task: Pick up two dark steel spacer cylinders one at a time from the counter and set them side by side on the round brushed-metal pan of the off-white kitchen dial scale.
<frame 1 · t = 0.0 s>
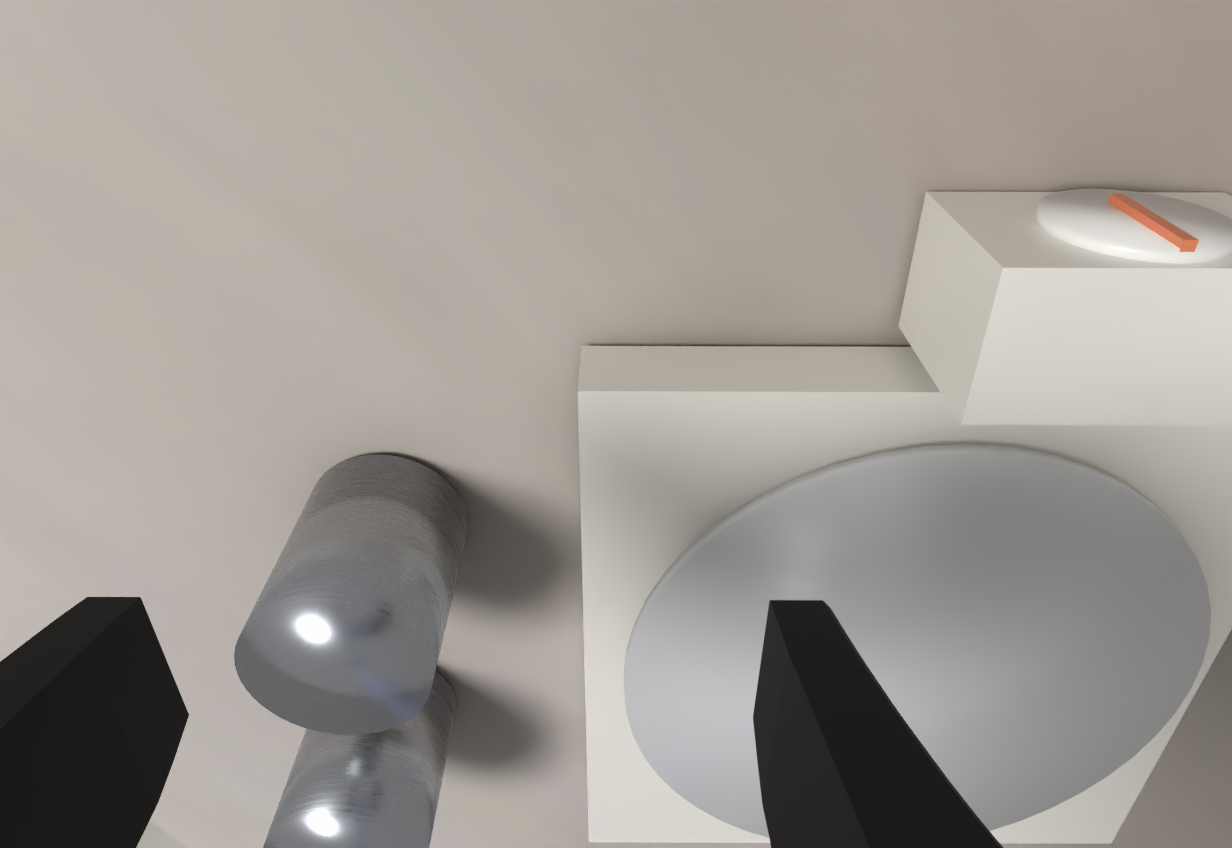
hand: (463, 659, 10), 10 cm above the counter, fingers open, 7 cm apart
spacer b: (389, 518, 22), on the counter
spacer a: (389, 700, 25), on the counter
scale: (877, 606, 23), on the counter
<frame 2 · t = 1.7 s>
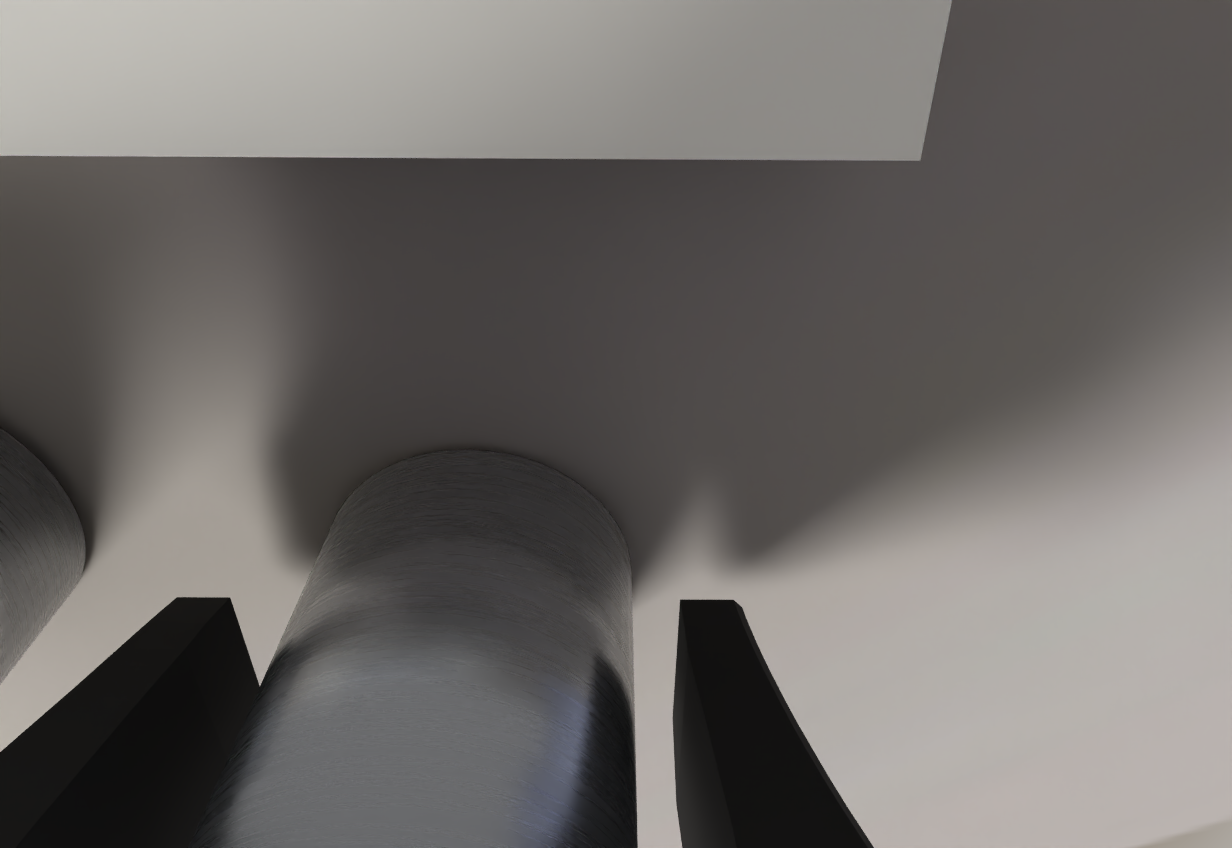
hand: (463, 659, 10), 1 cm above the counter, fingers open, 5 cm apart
spacer a: (480, 574, 11), on the counter
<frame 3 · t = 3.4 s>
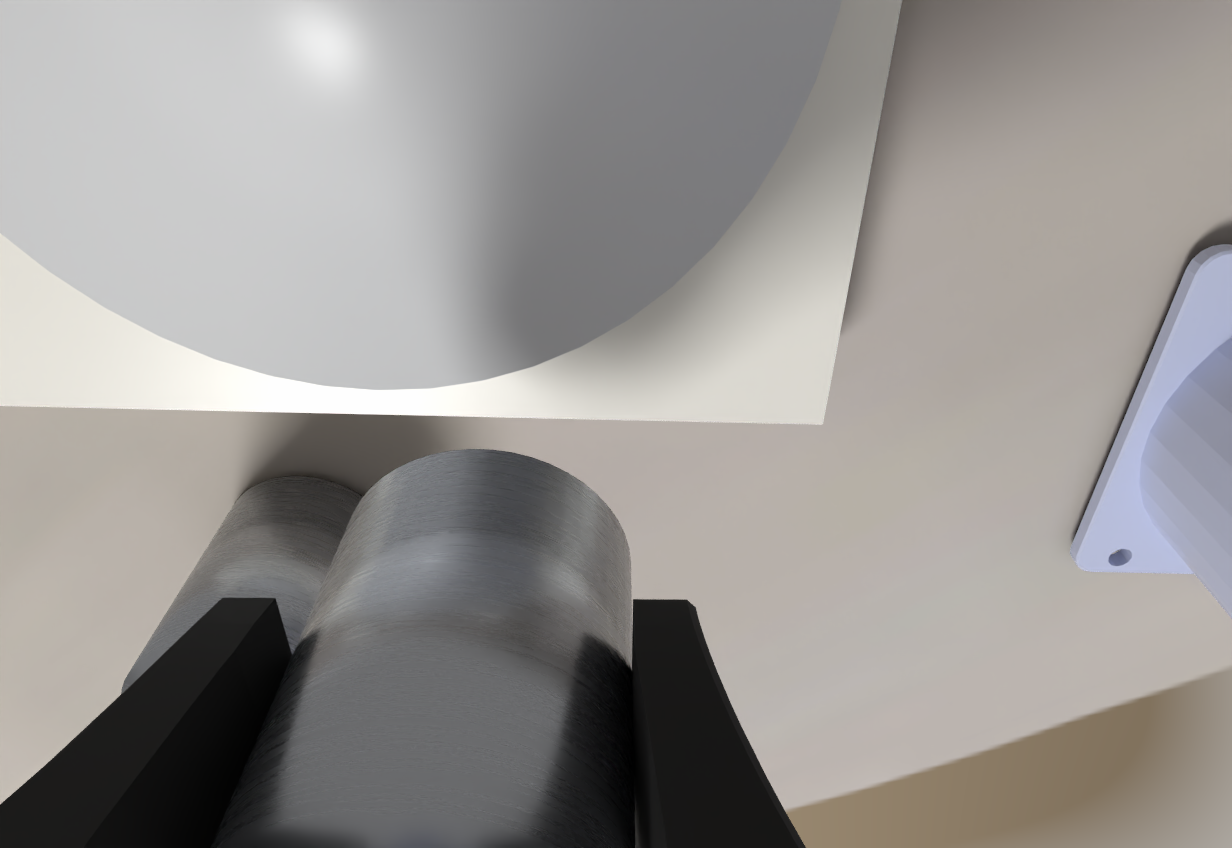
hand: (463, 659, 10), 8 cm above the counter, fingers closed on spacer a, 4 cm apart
spacer b: (313, 543, 20), on the counter
spacer a: (489, 566, 12), point 6 cm above the counter, touching gripper
when the fingers open (5 cm above the counter, at t = 4.9 s): spacer a stays where it is, resting on scale.
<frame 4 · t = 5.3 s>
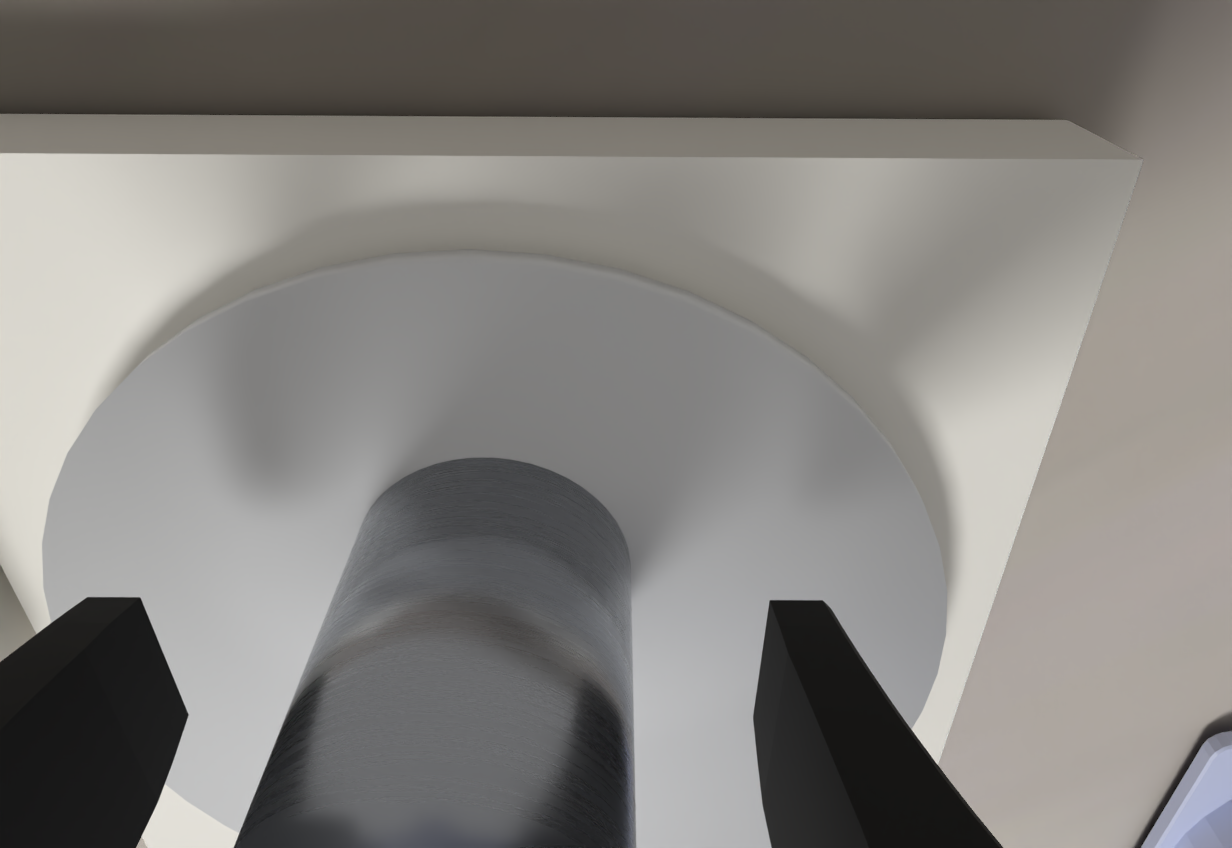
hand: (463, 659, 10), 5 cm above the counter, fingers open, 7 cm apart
spacer a: (494, 568, 12), point 3 cm above the counter, touching scale
scale: (520, 555, 16), on the counter
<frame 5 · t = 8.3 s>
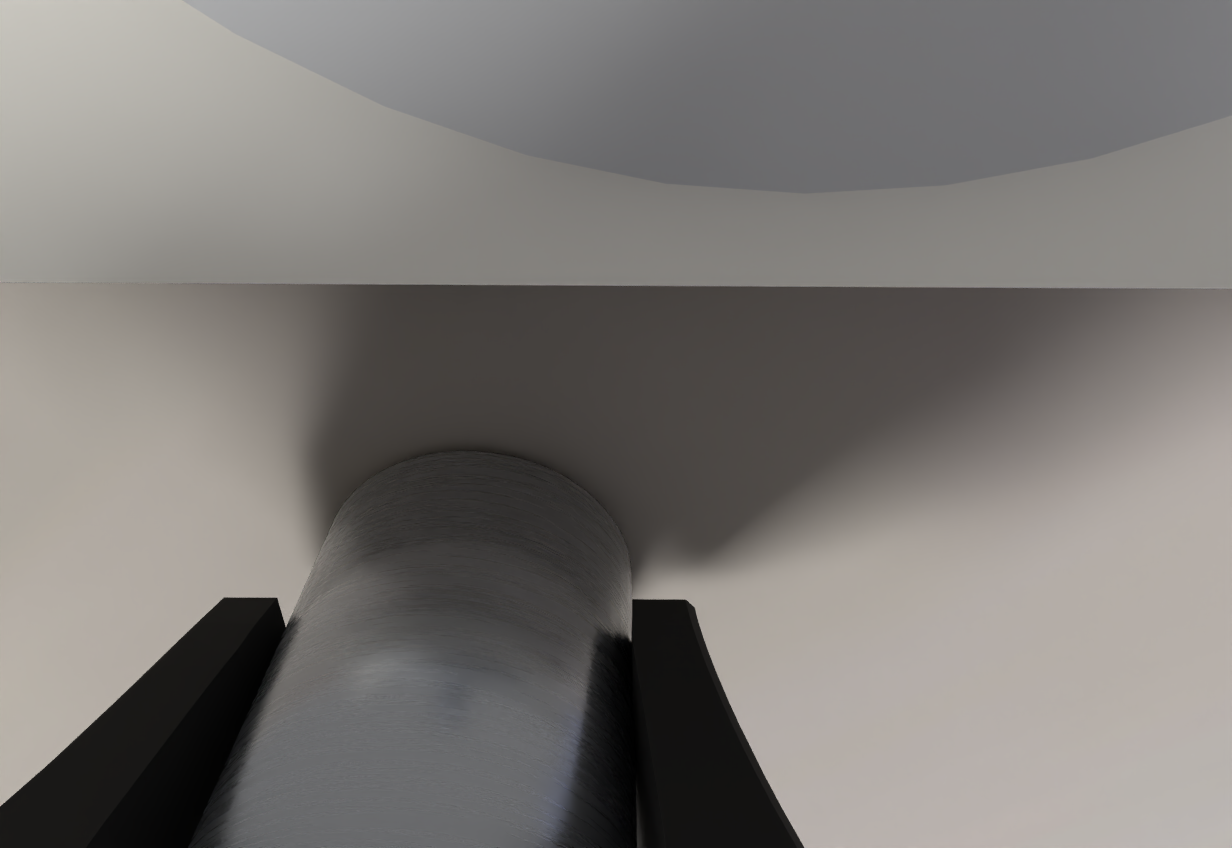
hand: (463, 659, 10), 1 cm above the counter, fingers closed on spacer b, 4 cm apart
spacer b: (480, 575, 11), on the counter, touching gripper
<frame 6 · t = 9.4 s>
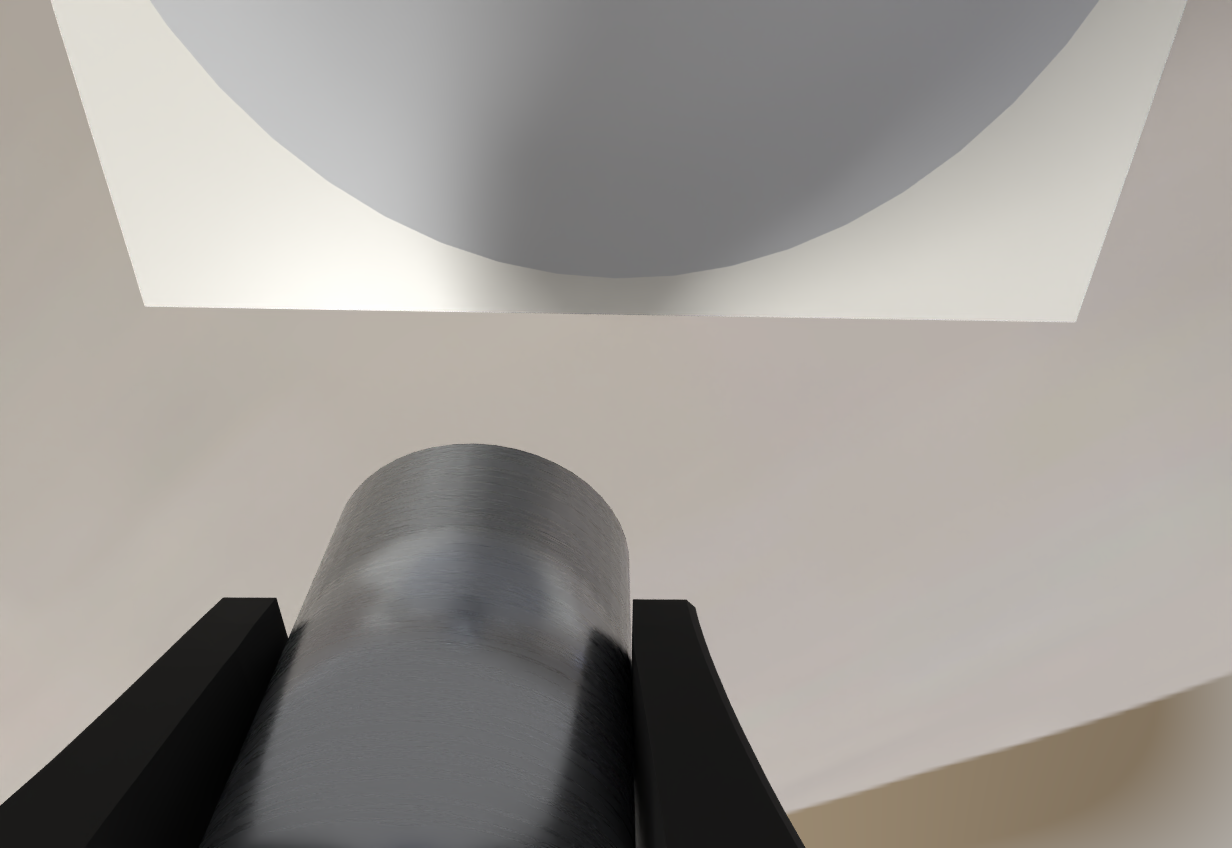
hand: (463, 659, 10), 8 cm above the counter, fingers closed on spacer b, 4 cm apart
spacer b: (483, 564, 12), point 6 cm above the counter, touching gripper
when the fingers open (5 cm above the counter, at t = 10.7 s): spacer b stays where it is, resting on scale.
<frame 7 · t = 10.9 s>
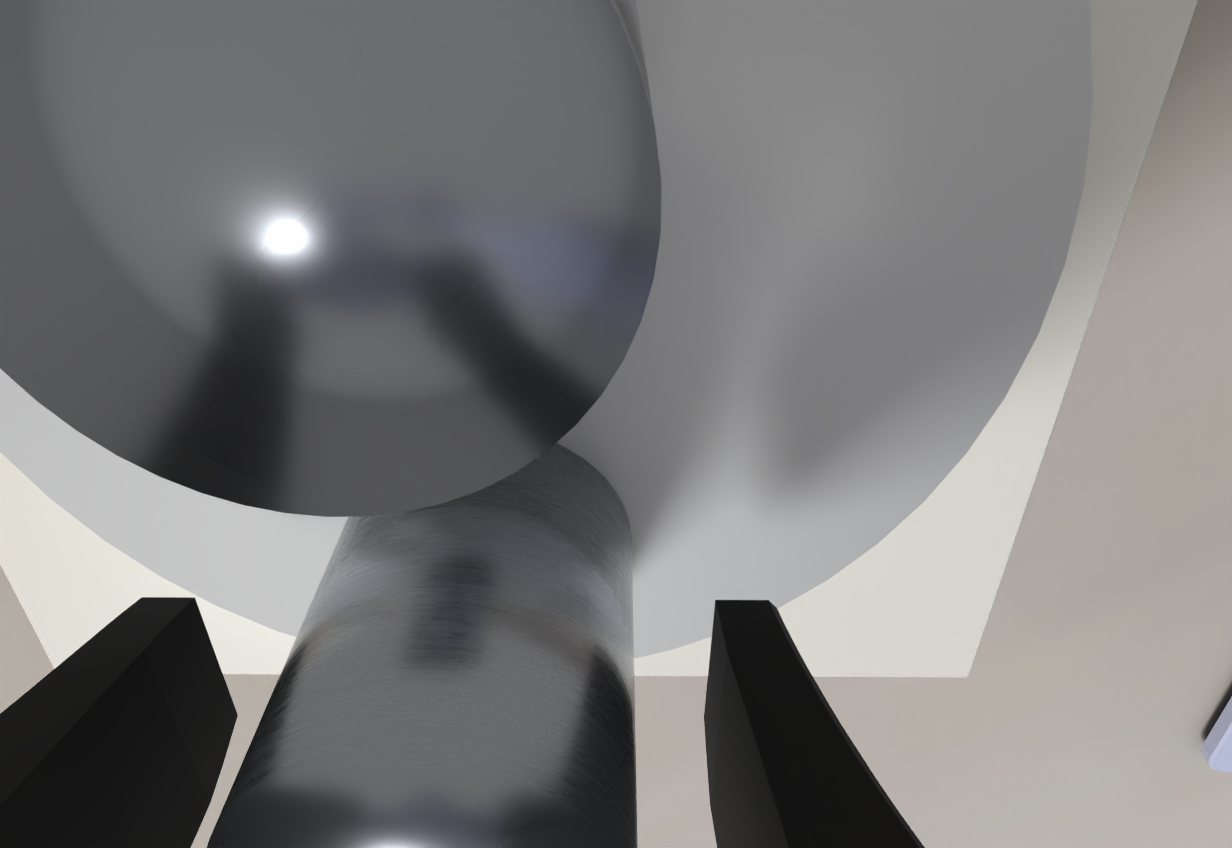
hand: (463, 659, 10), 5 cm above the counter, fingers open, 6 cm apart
spacer b: (492, 543, 12), point 3 cm above the counter, touching scale
spacer a: (444, 54, 9), point 3 cm above the counter, touching scale
scale: (493, 188, 12), on the counter
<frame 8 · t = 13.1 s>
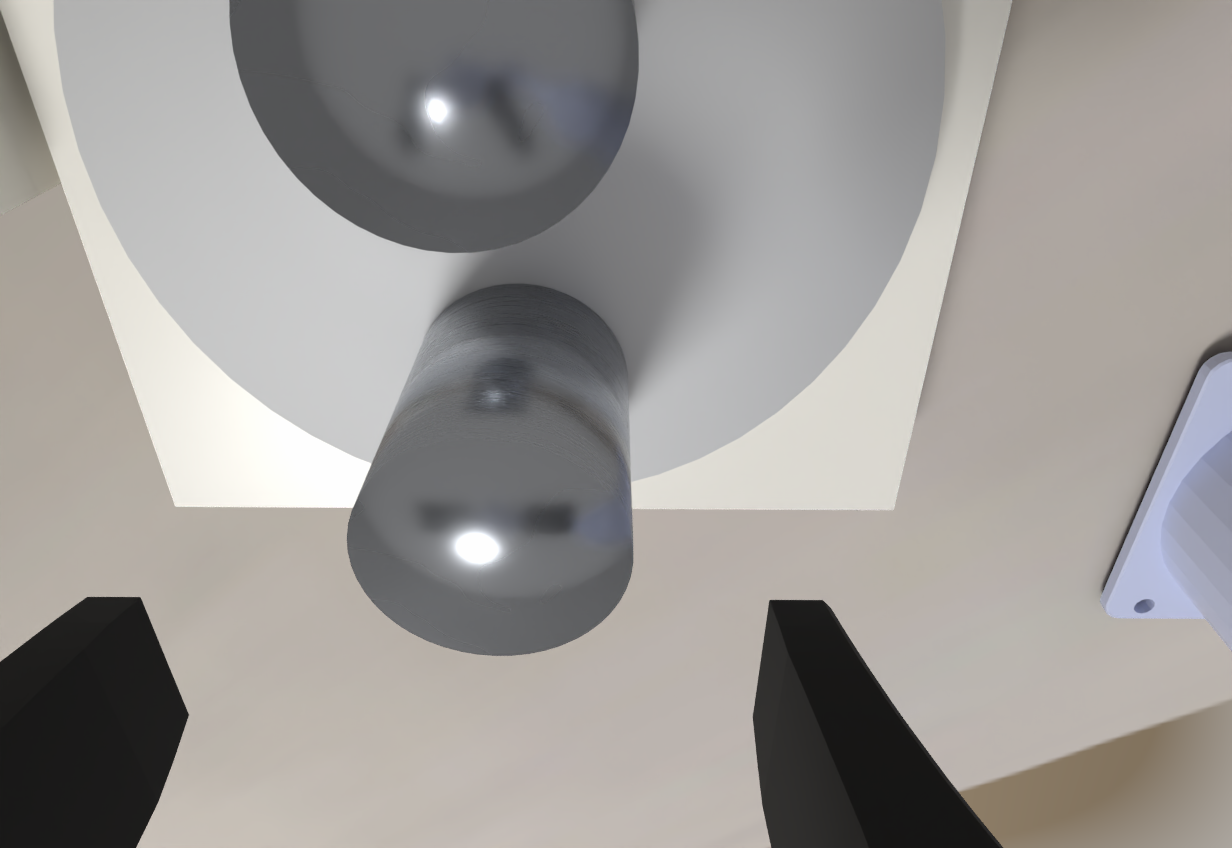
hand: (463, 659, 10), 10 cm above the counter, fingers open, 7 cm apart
spacer b: (523, 381, 16), point 3 cm above the counter, touching scale
spacer a: (499, 1, 13), point 3 cm above the counter, touching scale
scale: (523, 114, 16), on the counter
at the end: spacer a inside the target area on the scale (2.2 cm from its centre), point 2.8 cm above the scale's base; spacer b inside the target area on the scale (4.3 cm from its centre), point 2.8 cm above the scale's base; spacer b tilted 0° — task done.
